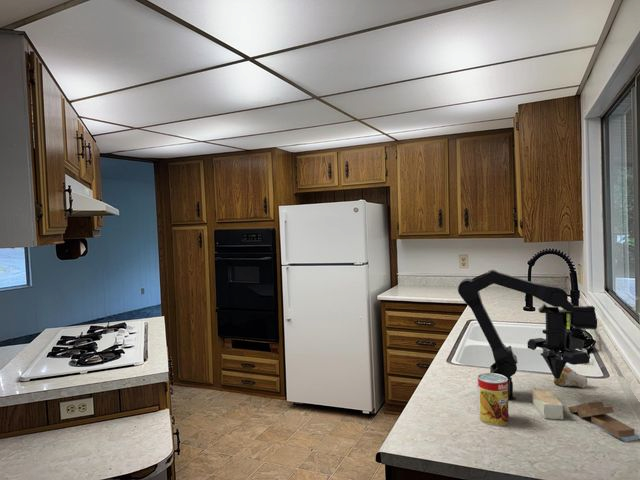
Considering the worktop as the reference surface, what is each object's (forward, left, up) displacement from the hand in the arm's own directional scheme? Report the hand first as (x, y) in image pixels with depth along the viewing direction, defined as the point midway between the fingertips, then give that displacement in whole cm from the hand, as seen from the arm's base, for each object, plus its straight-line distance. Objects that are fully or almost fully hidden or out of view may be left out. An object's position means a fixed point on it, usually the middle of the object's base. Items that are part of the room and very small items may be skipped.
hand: (557, 378), depth 132 cm
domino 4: (0, -15, -7) cm, 17 cm away
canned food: (-25, -4, -8) cm, 26 cm away
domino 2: (0, -10, -7) cm, 12 cm away
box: (-5, +1, -5) cm, 7 cm away
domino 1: (0, -7, -7) cm, 10 cm away
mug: (+15, +10, -8) cm, 19 cm away
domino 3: (0, -15, -6) cm, 16 cm away
